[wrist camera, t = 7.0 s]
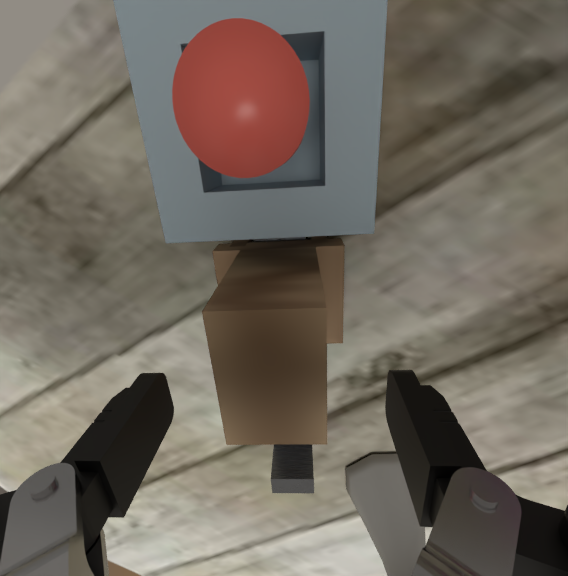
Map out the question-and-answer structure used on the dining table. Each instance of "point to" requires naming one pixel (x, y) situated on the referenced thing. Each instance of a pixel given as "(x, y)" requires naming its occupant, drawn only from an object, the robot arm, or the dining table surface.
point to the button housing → (317, 138)
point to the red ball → (241, 98)
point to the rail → (291, 451)
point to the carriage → (275, 337)
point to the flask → (387, 511)
